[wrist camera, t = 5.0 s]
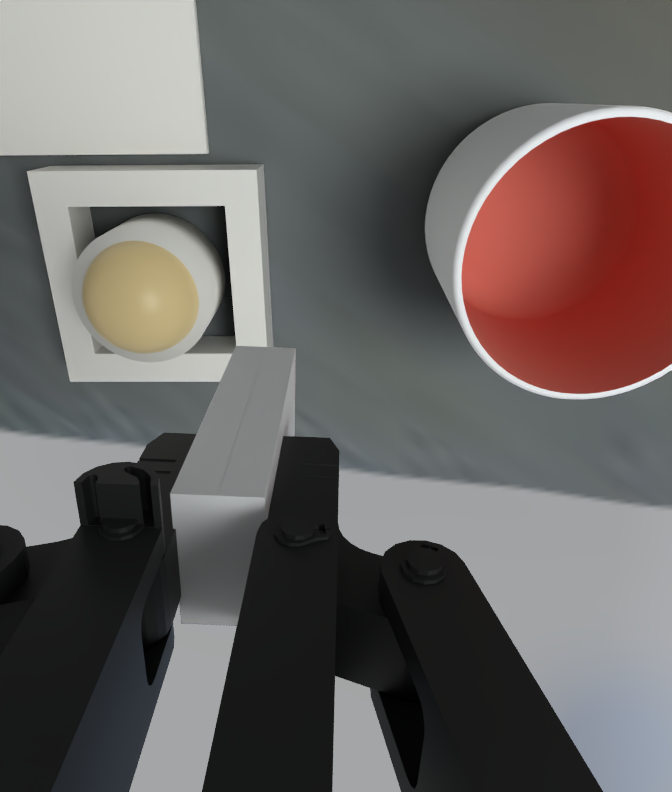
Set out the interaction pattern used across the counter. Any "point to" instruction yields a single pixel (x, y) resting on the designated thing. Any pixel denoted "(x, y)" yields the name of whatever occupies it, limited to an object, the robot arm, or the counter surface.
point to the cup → (561, 246)
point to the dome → (149, 287)
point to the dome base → (155, 186)
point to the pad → (101, 78)
